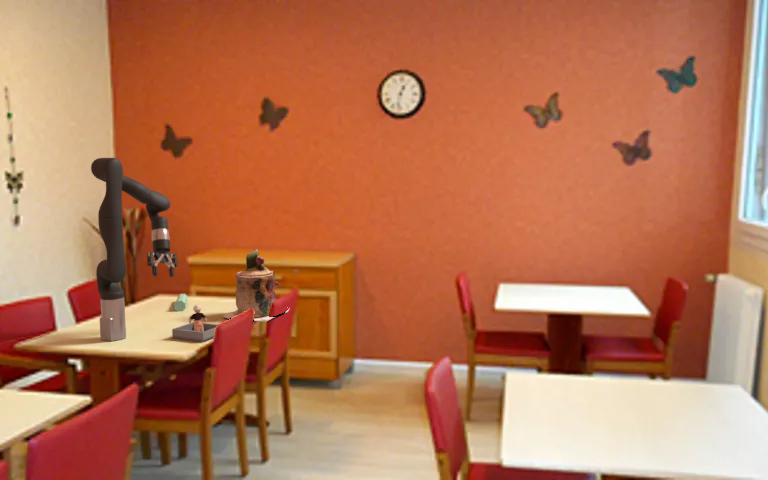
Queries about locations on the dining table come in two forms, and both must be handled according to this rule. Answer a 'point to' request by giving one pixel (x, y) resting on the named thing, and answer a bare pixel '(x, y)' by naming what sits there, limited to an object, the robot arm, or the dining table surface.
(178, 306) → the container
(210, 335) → the tray
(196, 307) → the grandmother figurine
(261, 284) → the cookie jar
